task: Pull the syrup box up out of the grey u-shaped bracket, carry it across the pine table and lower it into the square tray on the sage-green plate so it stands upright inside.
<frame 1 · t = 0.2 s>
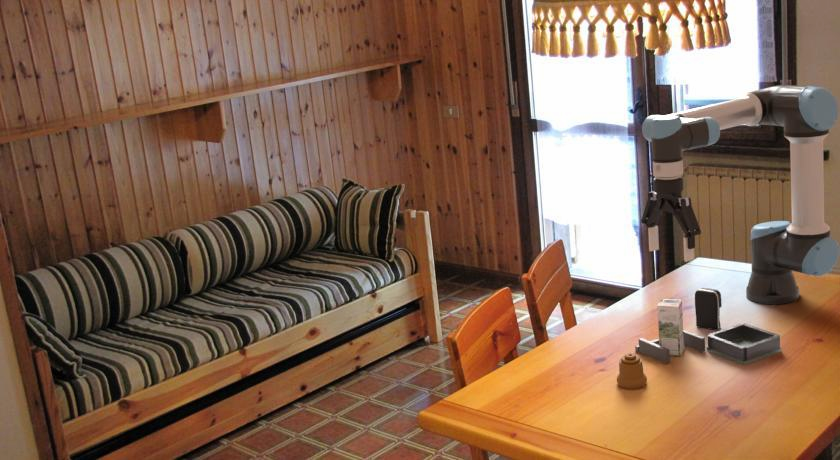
hand: (671, 255, 246), 27 cm above the table, fingers open, 13 cm apart
battery: (709, 327, 267), on the table
grey u-shaped bracket: (672, 352, 253), on the table
square tray: (743, 351, 248), on the table
ornamental finial: (632, 385, 236), on the table
syrup box: (672, 352, 253), on the table
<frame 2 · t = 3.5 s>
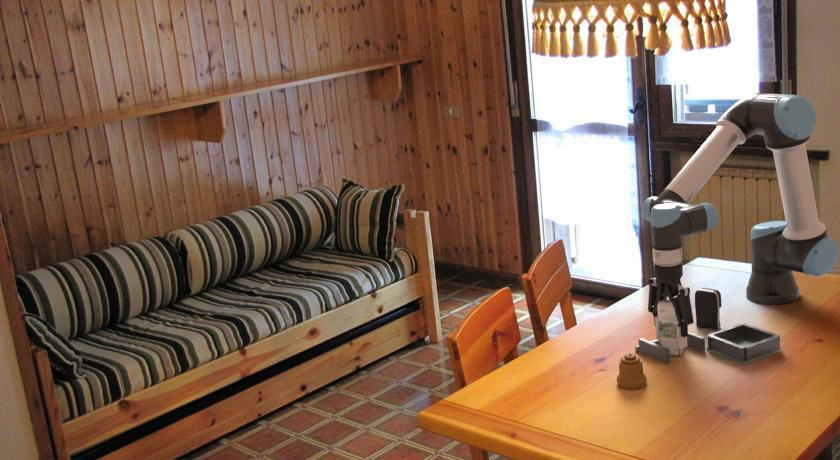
hand: (671, 342, 252), 3 cm above the table, fingers closed on syrup box, 8 cm apart
syrup box: (672, 352, 253), on the table, touching gripper
everything else where it was.
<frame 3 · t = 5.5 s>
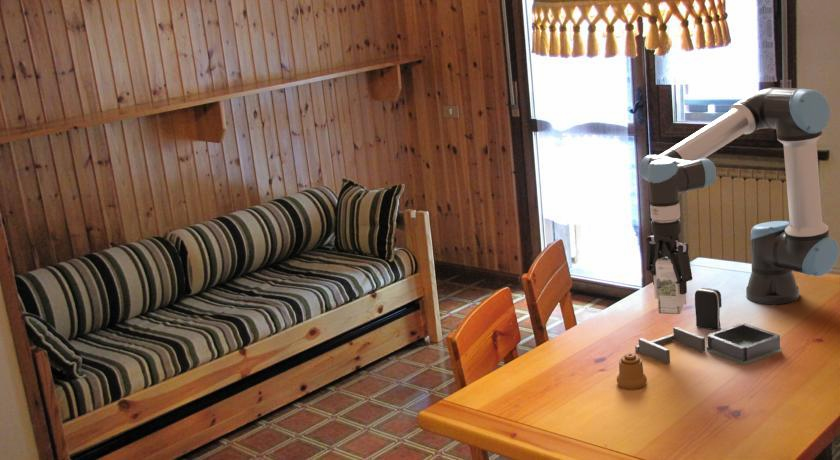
hand: (670, 300, 249), 15 cm above the table, fingers closed on syrup box, 8 cm apart
syrup box: (671, 311, 250), point 12 cm above the table, touching gripper
everything else where it was.
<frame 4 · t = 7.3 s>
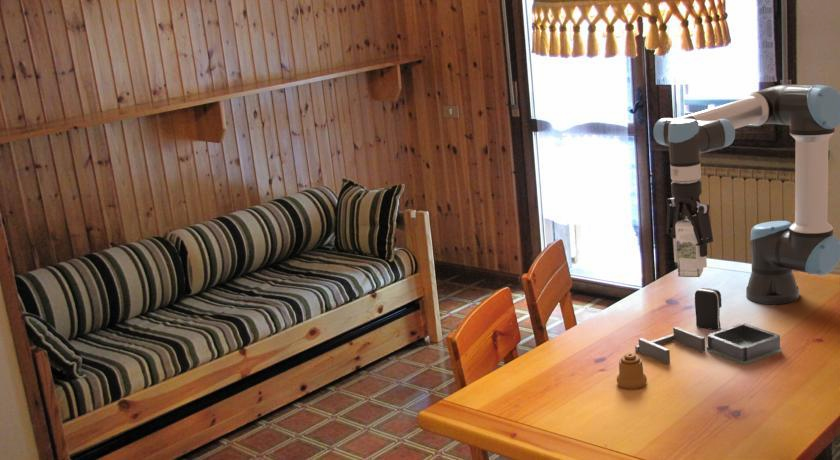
hand: (690, 264, 245), 25 cm above the table, fingers closed on syrup box, 8 cm apart
syrup box: (690, 274, 246), point 22 cm above the table, touching gripper
everything else where it was.
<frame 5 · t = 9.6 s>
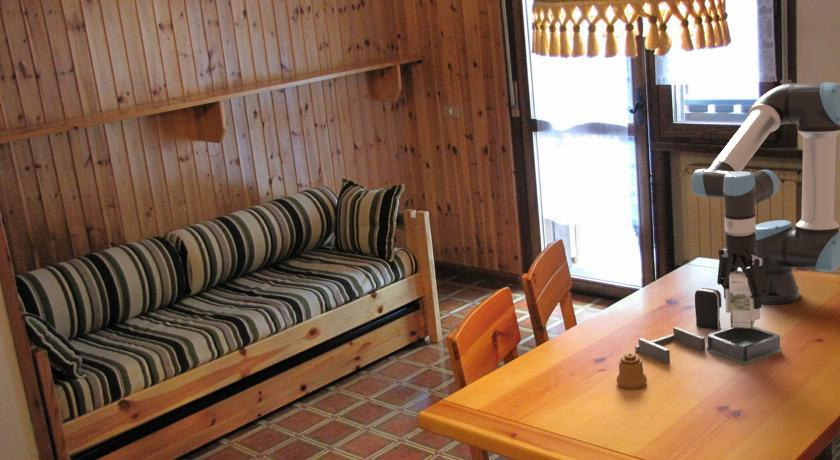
hand: (742, 315, 245), 10 cm above the table, fingers closed on syrup box, 8 cm apart
syrup box: (743, 325, 246), point 7 cm above the table, touching gripper
everything else where it was.
when the fingers open (6 cm above the table, at t = 11.3 s): syrup box drops 2 cm, resting on square tray.
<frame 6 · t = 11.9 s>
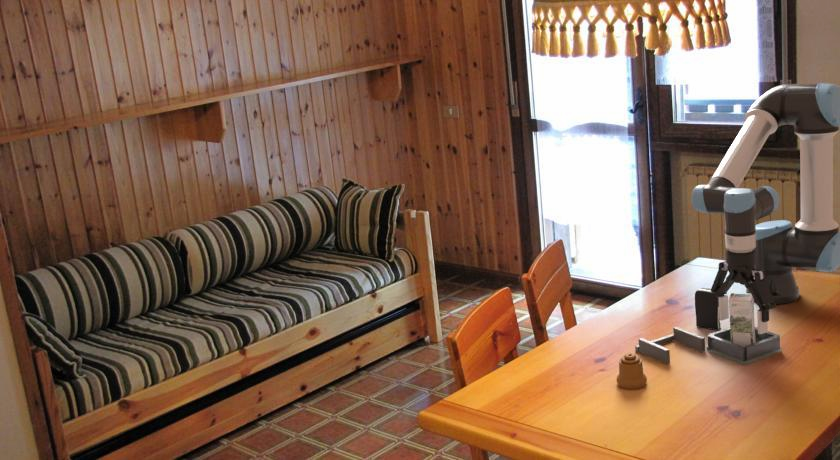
hand: (743, 325, 246), 7 cm above the table, fingers open, 13 cm apart
syrup box: (743, 348, 248), point 1 cm above the table, touching square tray
everything else where it was.
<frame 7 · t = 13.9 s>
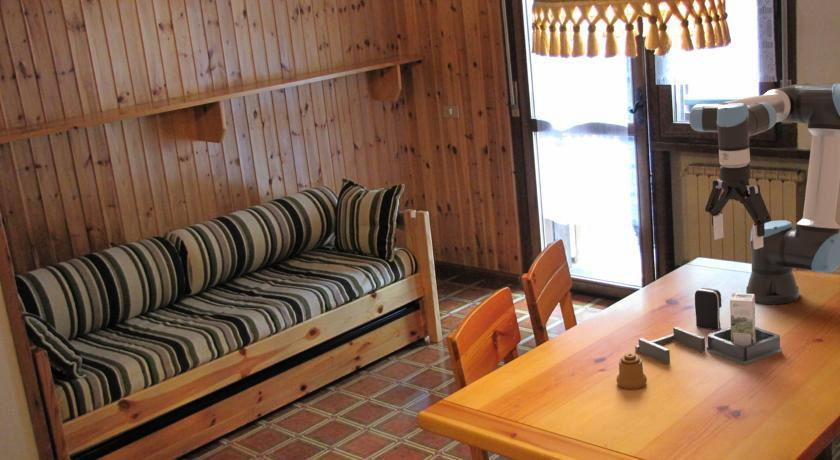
hand: (738, 243, 245), 29 cm above the table, fingers open, 13 cm apart
nothing on the table moved.
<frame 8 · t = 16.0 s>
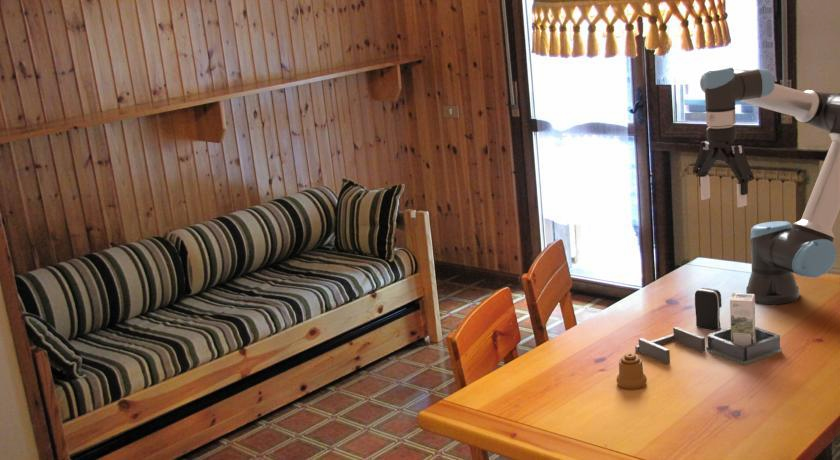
hand: (723, 202, 256), 37 cm above the table, fingers open, 13 cm apart
nothing on the table moved.
at the end: syrup box 0.0 cm off-centre on the square tray, point 0.8 cm above the square tray's base; syrup box tilted 0°; the gripper is holding nothing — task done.
